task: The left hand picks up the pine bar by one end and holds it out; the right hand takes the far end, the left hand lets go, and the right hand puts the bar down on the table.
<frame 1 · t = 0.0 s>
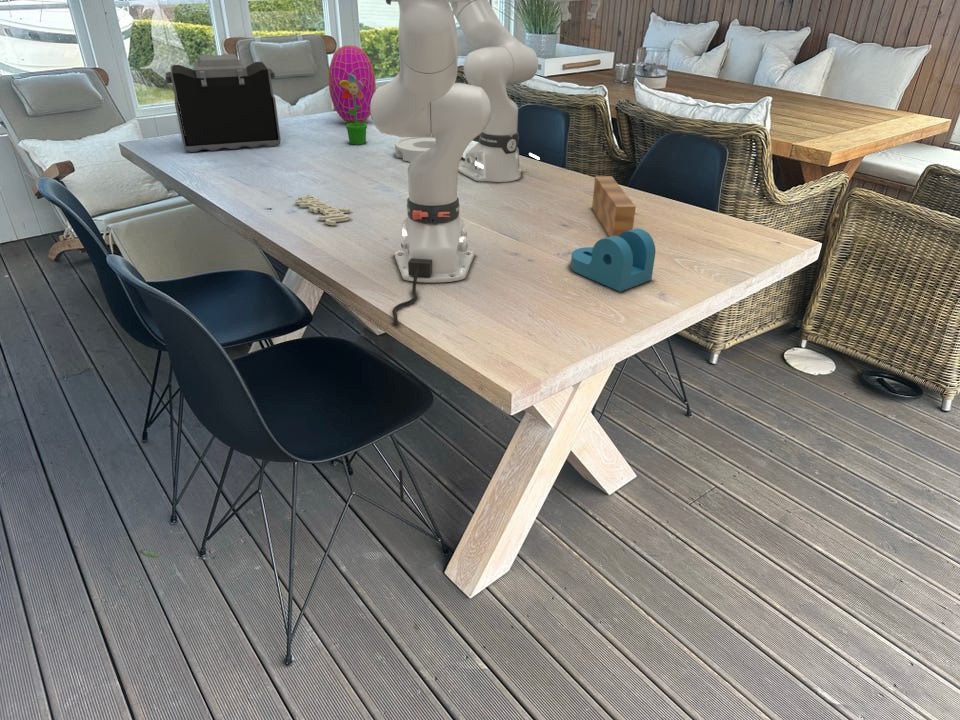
left hand: (430, 23, 166), 48 cm above the table, tool pointing down, fingers open, 8 cm apart
right hand: (579, 20, 180), 48 cm above the table, tool pointing down, fingers open, 8 cm apart
decorative sign: (324, 210, 193), on the table
bar: (610, 224, 186), on the table
ashtray: (427, 155, 247), on the table
camera mount: (605, 273, 157), on the table
electronic device: (232, 143, 259), on the table
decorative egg: (355, 123, 293), on the table
potted flower: (358, 143, 262), on the table
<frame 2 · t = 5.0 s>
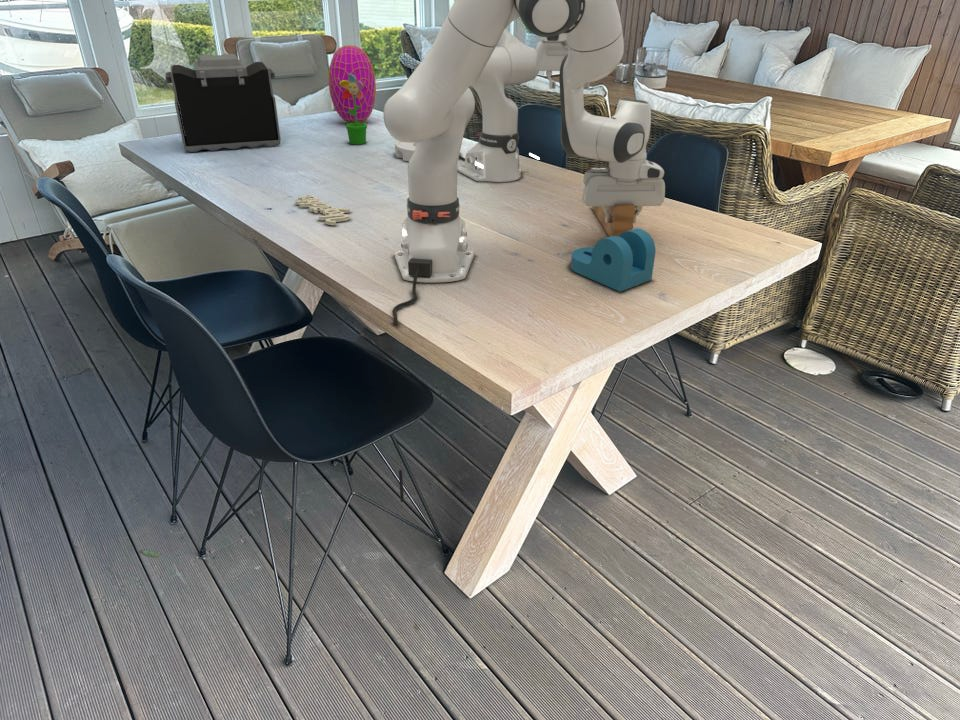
left hand: (620, 222, 175), 4 cm above the table, tool pointing down, fingers closed on bar, 5 cm apart
right hand: (569, 88, 189), 31 cm above the table, tool pointing down, fingers open, 8 cm apart
bar: (610, 224, 186), on the table, touching left hand
everything else where it was.
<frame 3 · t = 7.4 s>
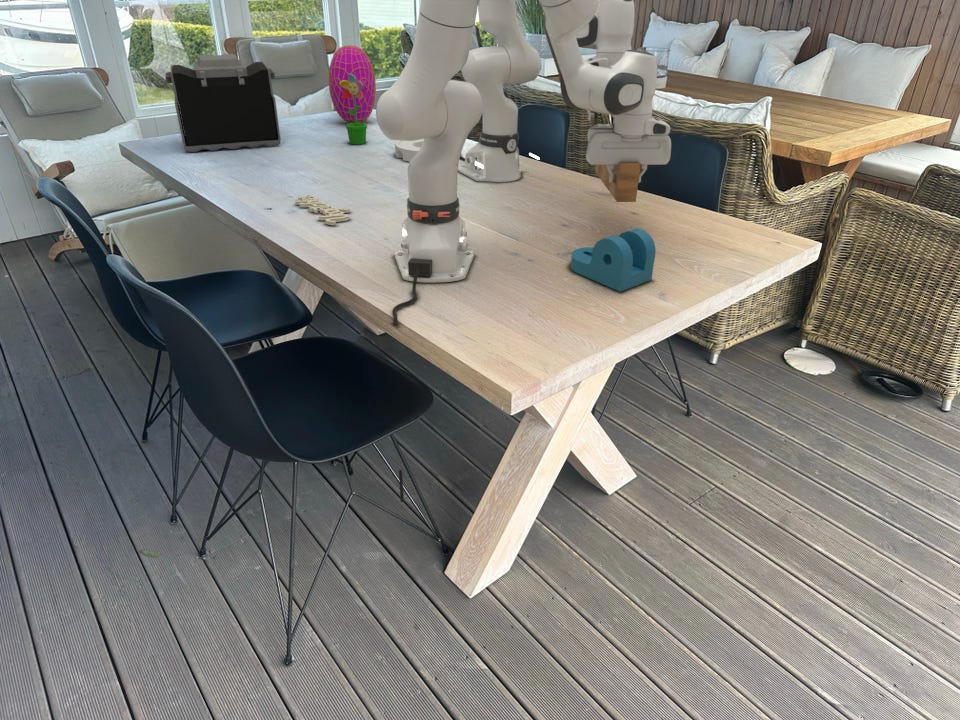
left hand: (624, 182, 170), 14 cm above the table, tool pointing down, fingers closed on bar, 5 cm apart
right hand: (608, 120, 182), 25 cm above the table, tool pointing down, fingers open, 8 cm apart
bar: (614, 186, 180), point 10 cm above the table, touching left hand
everything else where it was.
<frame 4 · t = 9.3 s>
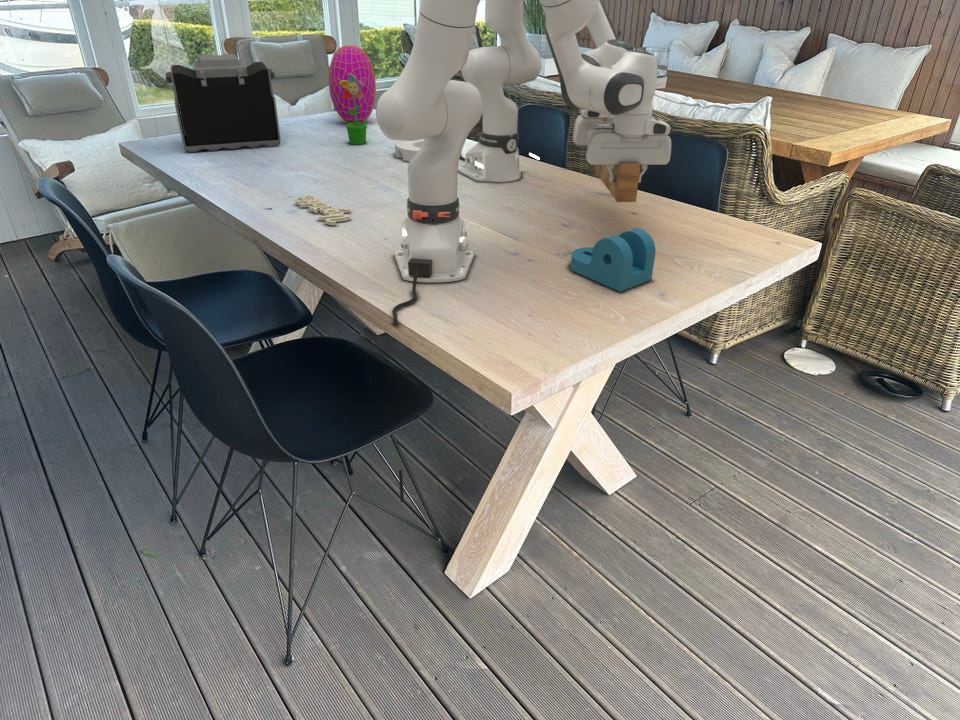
left hand: (624, 182, 170), 14 cm above the table, tool pointing down, fingers closed on bar, 5 cm apart
right hand: (608, 161, 187), 14 cm above the table, tool pointing down, fingers closed on bar, 5 cm apart
bar: (614, 186, 180), point 10 cm above the table, touching left hand, right hand
everything else where it was.
when the left hand's fingers open (14 cm above the table, at t = 10.2 s): bar stays where it is, held by the right hand.
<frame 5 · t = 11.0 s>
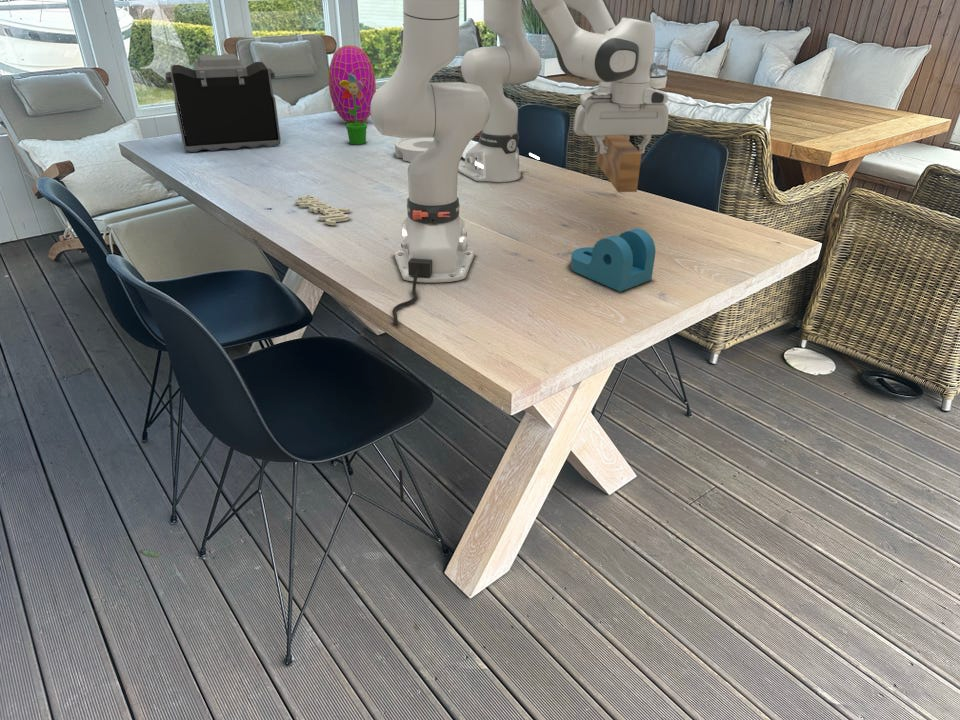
left hand: (621, 153, 168), 21 cm above the table, tool pointing down, fingers open, 8 cm apart
right hand: (608, 151, 186), 17 cm above the table, tool pointing down, fingers closed on bar, 5 cm apart
bar: (615, 176, 179), point 13 cm above the table, touching right hand
everything else where it was.
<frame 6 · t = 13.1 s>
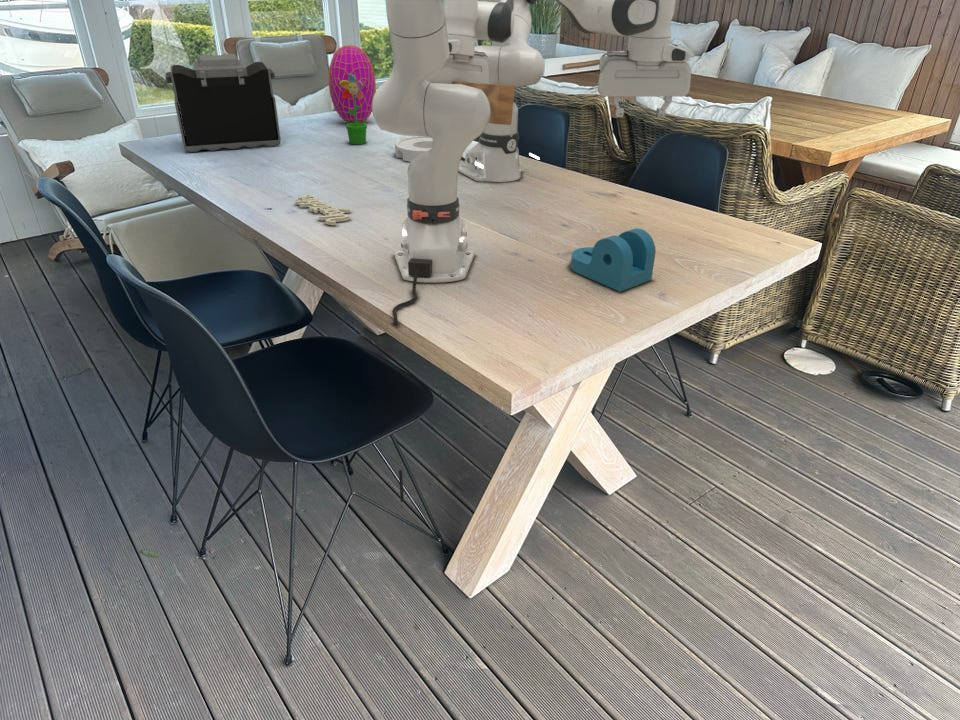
left hand: (639, 117, 156), 31 cm above the table, tool pointing down, fingers open, 8 cm apart
right hand: (454, 102, 191), 27 cm above the table, tool pointing down, fingers closed on bar, 5 cm apart
bar: (473, 120, 185), point 24 cm above the table, tilted 11°, touching right hand
everything else where it was.
when the right hand's fingers open (6 cm above the table, at t = 17.0 s): bar drops 2 cm, on the table.
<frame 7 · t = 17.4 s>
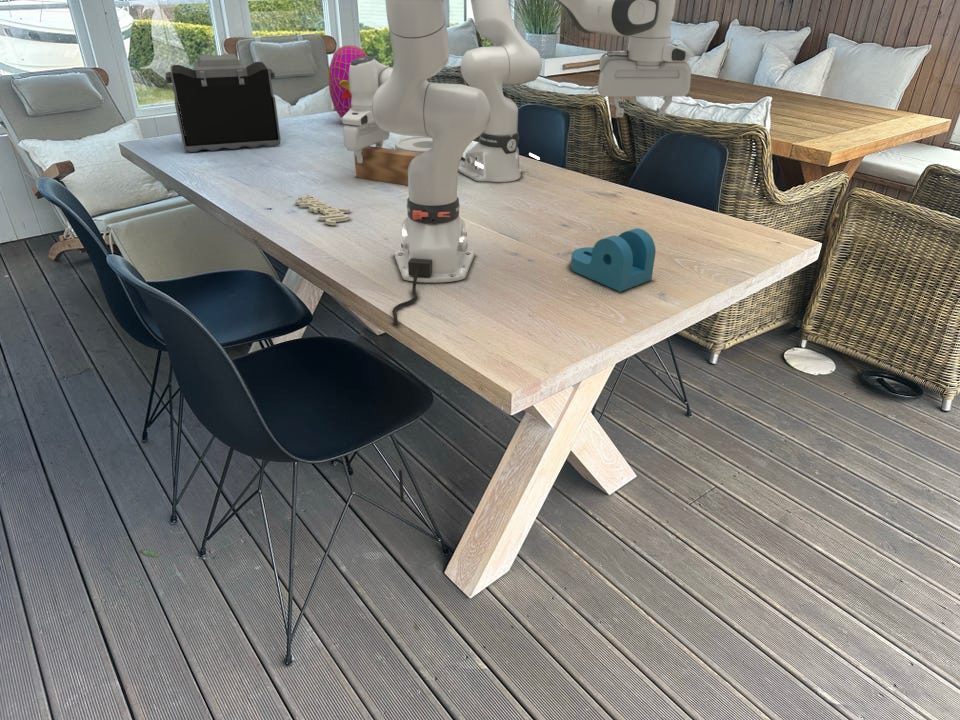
left hand: (639, 117, 156), 31 cm above the table, tool pointing down, fingers open, 8 cm apart
right hand: (369, 159, 219), 6 cm above the table, tool pointing down, fingers open, 8 cm apart
bar: (395, 180, 219), on the table
everything else where it was.
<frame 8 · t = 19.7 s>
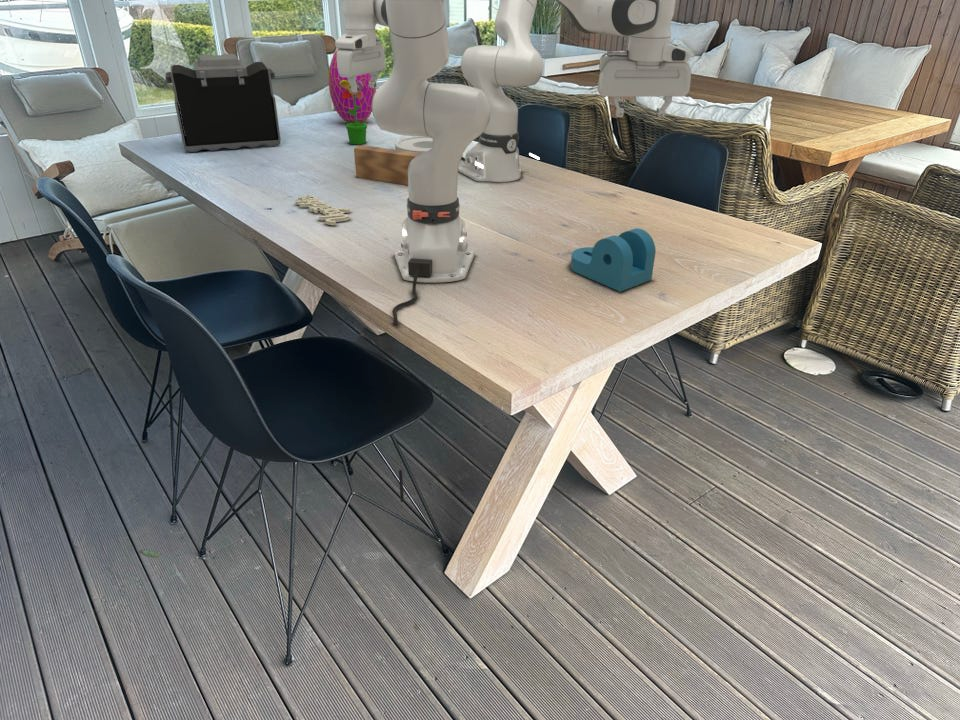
left hand: (639, 117, 156), 31 cm above the table, tool pointing down, fingers open, 8 cm apart
right hand: (364, 89, 209), 27 cm above the table, tool pointing down, fingers open, 8 cm apart
nothing on the table moved.
at the end: bar inside the target area (9.6 cm from its centre), on the table; the left hand is holding nothing; the right hand is holding nothing; bar at rest at the end (0.0 cm/s) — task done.
